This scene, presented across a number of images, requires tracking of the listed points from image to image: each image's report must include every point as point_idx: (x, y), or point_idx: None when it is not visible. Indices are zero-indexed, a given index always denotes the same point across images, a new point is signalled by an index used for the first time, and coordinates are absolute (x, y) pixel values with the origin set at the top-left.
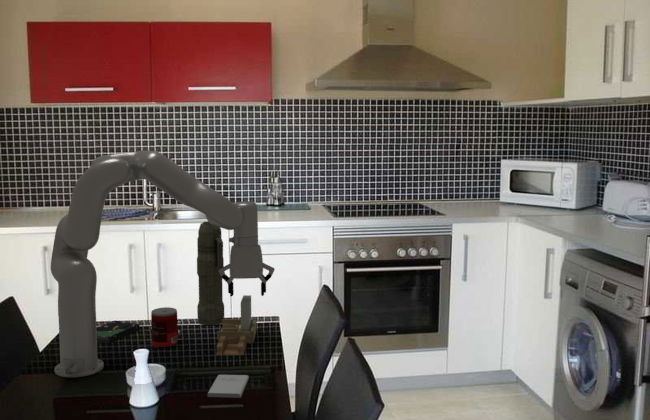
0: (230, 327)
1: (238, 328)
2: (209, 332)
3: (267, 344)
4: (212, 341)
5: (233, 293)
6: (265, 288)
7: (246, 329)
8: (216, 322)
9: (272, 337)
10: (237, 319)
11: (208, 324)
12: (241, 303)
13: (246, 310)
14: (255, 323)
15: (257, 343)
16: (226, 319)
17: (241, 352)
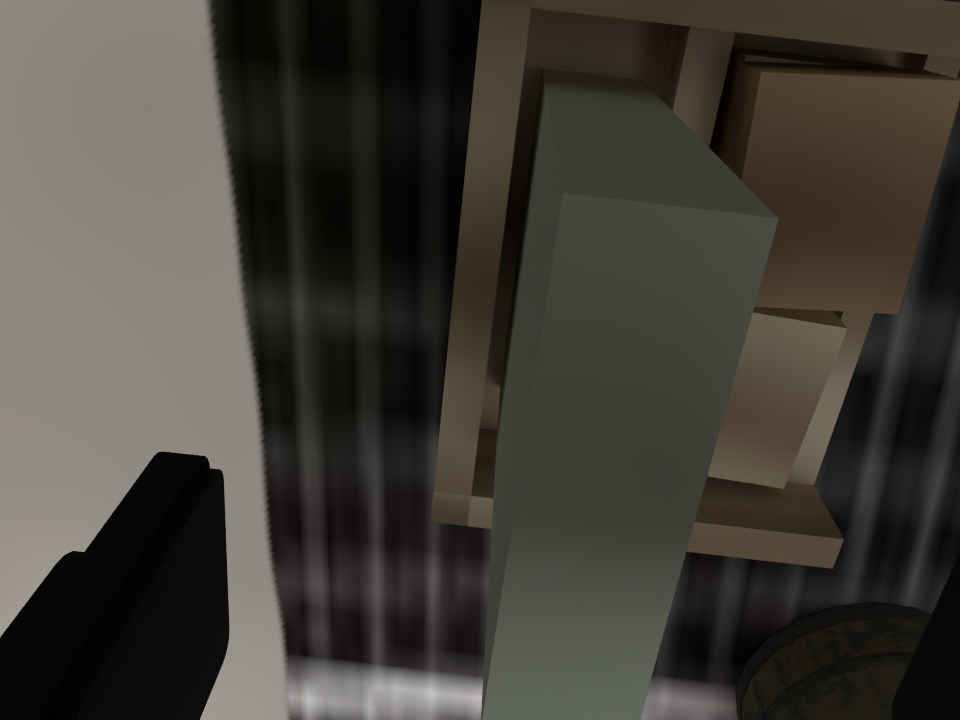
0: (817, 156)
1: None
2: (916, 494)
3: (322, 12)
4: (950, 209)
5: (898, 709)
6: (20, 621)
7: (582, 92)
8: (836, 651)
9: (276, 261)
10: None
11: (914, 633)
12: (751, 210)
13: (607, 154)
14: (446, 368)
15: (441, 68)
16: (789, 549)
17: None
